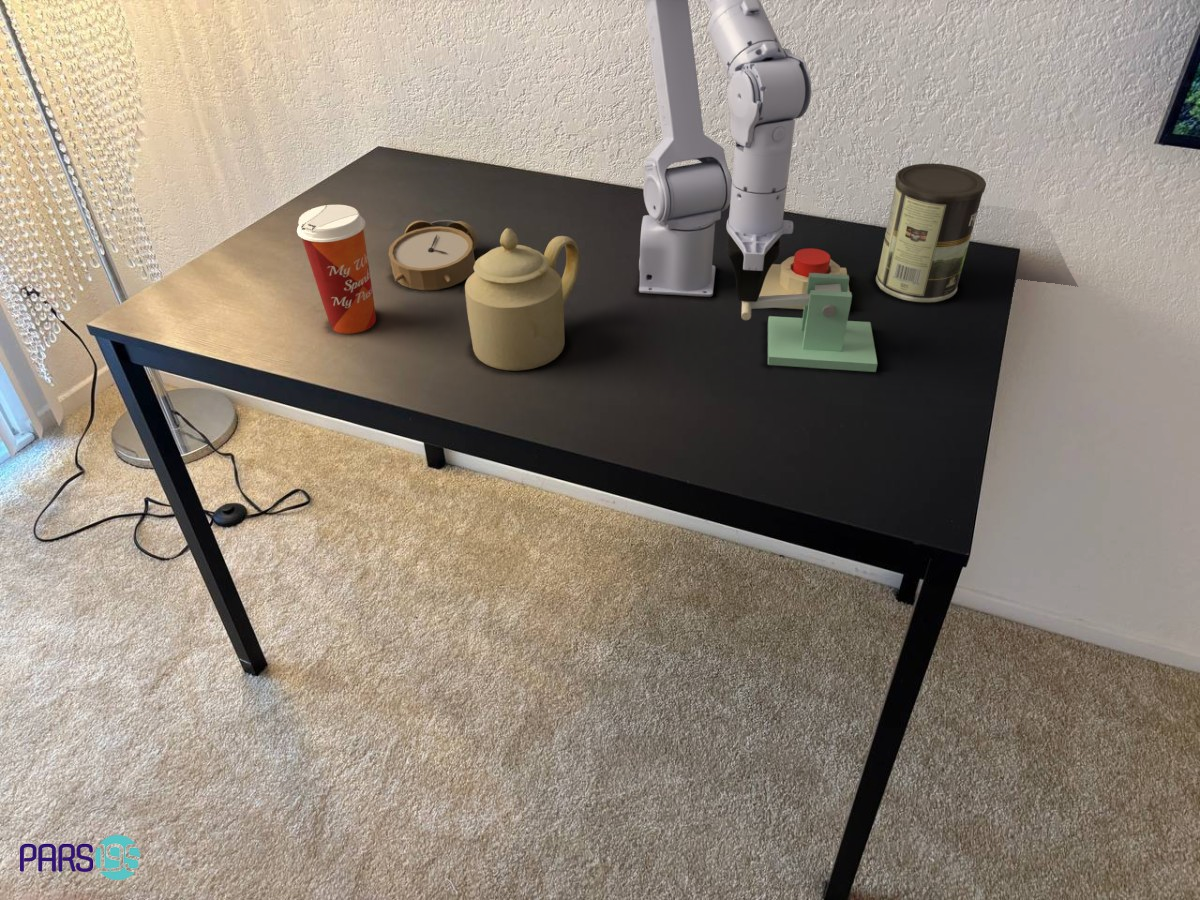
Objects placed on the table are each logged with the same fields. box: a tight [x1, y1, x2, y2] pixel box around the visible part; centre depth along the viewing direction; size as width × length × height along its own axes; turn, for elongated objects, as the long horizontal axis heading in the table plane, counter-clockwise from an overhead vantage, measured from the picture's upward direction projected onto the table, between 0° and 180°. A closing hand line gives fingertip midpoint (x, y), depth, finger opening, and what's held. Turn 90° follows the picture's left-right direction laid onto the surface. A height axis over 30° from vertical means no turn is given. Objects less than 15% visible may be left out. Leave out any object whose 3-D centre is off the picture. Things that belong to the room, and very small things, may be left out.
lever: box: [740, 284, 841, 321], centre depth 98 cm, size 11×6×2 cm, turn 81°
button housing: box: [759, 255, 852, 312], centre depth 110 cm, size 12×9×4 cm
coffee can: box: [875, 162, 987, 304], centre depth 108 cm, size 10×10×14 cm
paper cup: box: [296, 204, 377, 335], centre depth 103 cm, size 8×8×14 cm
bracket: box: [767, 273, 878, 373], centre depth 98 cm, size 12×9×8 cm
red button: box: [793, 247, 831, 277], centre depth 108 cm, size 4×4×2 cm
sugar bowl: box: [464, 227, 581, 372], centre depth 99 cm, size 15×11×15 cm
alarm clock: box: [388, 219, 478, 291], centre depth 118 cm, size 11×5×15 cm
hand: (747, 298), depth 98 cm, fingers closed, pressing on lever
